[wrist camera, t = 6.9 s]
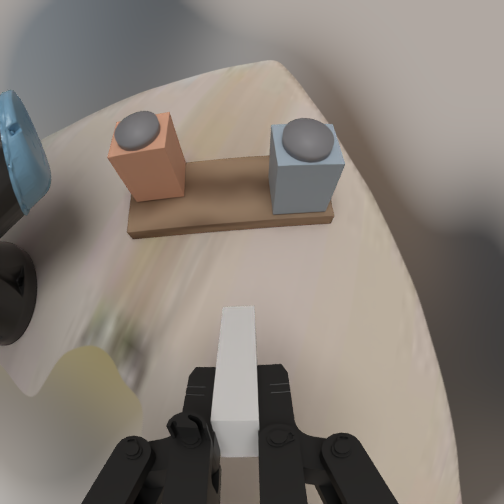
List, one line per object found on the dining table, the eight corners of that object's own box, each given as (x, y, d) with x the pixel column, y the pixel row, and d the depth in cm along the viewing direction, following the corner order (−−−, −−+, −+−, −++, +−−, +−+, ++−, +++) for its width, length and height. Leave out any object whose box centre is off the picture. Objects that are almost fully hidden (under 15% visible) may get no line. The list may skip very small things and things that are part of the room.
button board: (330, 223, 35) (334, 215, 33) (133, 239, 35) (127, 232, 33) (317, 163, 38) (319, 153, 36) (139, 178, 38) (134, 170, 36)
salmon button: (184, 196, 34) (162, 140, 25) (136, 202, 34) (103, 151, 24) (185, 162, 36) (167, 105, 26) (141, 168, 36) (113, 116, 26)
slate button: (325, 211, 33) (347, 157, 24) (273, 214, 33) (278, 158, 24) (317, 175, 35) (334, 117, 25) (268, 177, 35) (271, 117, 25)
